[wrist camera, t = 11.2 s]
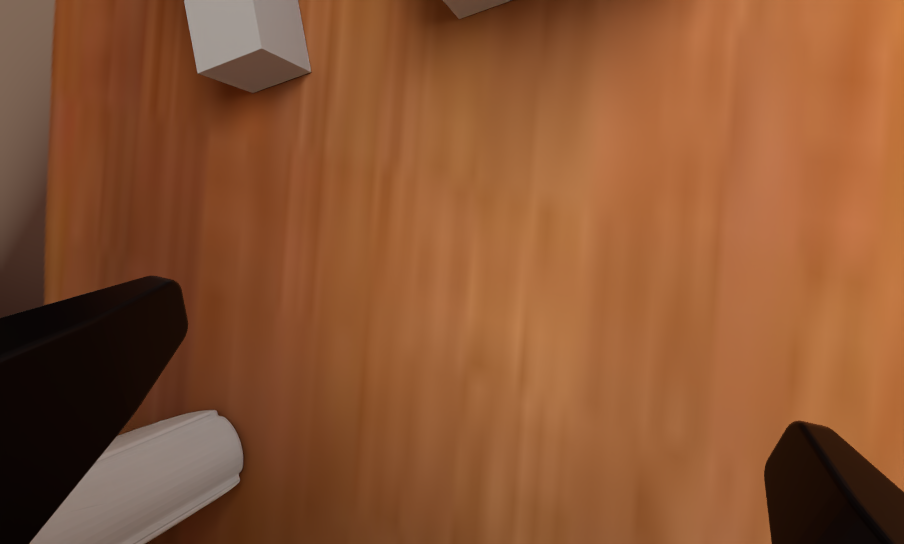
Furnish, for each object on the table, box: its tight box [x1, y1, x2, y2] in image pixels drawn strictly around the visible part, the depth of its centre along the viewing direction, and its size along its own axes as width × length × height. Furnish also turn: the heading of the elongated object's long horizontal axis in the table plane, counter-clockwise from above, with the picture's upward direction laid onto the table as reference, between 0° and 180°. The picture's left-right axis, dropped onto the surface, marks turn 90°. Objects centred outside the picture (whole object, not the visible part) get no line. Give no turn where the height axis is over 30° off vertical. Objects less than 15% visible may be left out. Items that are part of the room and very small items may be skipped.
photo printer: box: [30, 410, 243, 544], centre depth 20 cm, size 10×4×12 cm, turn 111°
